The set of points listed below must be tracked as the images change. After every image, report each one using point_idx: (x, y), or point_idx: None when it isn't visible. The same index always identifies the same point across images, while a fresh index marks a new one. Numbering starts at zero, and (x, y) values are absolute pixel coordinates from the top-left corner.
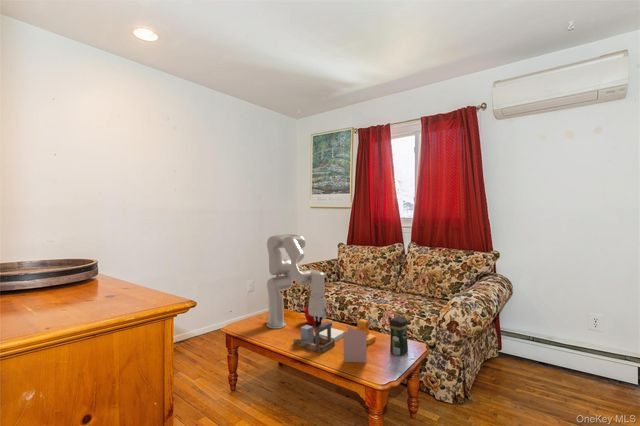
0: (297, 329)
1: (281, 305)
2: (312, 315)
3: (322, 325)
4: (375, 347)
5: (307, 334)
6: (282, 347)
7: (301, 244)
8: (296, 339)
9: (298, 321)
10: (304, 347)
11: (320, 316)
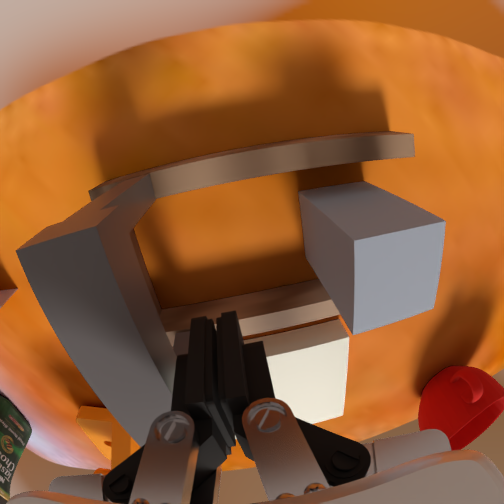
0: (476, 292)
1: None
2: (382, 459)
3: (131, 386)
4: (56, 409)
5: (331, 218)
6: (398, 46)
7: None
8: (389, 140)
9: (495, 337)
10: (282, 141)
11: (22, 502)
